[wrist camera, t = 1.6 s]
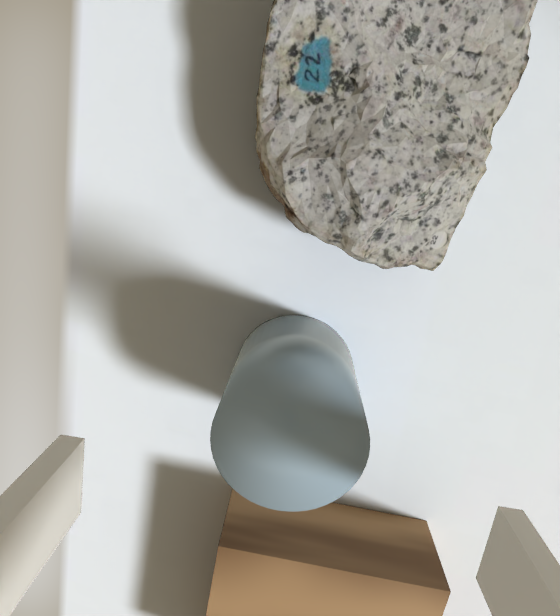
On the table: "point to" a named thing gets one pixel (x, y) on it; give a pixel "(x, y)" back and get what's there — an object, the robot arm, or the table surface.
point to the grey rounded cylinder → (291, 417)
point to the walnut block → (325, 563)
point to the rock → (385, 116)
